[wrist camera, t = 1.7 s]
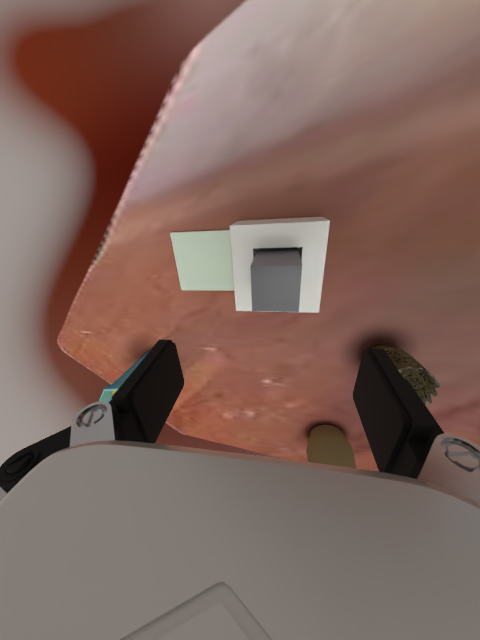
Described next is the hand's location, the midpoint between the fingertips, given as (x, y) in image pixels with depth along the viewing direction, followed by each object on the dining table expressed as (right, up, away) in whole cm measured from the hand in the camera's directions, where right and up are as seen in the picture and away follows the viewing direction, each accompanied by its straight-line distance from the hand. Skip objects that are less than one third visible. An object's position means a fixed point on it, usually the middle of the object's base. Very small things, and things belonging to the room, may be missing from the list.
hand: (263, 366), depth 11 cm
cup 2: (+19, -2, +22) cm, 30 cm away
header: (+4, +10, +18) cm, 21 cm away
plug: (+4, +10, +18) cm, 21 cm away
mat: (-6, +10, +20) cm, 23 cm away
